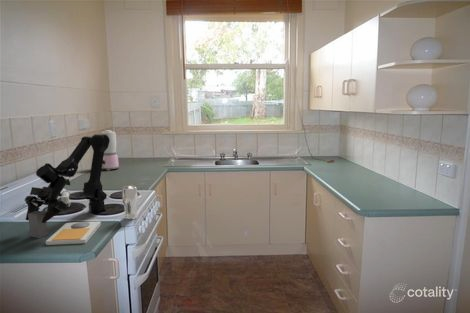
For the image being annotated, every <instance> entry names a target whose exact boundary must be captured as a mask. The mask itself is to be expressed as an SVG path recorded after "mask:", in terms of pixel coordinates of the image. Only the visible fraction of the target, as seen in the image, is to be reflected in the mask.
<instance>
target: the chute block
mask: <svg viewBox="0 0 470 313" xmlns="http://www.w3.org/2000/svg"><path fill="white" fill-rule="evenodd" d="M45 214H46V211H43V210H38V211H34V212H31V213H28V219H29V220H28V225H29V233H30V237H32V238H37V239H41V238H43V237H45V236H48V235H49V233H48V232H49V231H48V221H46V222H45V223H42V220H43V218H44V216H45Z"/></svg>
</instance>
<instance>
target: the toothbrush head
mask: <svg viewBox="0 0 470 313" xmlns="http://www.w3.org/2000/svg"><path fill="white" fill-rule="evenodd" d="M61 194H62V195H61V199H60V200H61V201H63V202H64V203H65V204H67V207H68V208H70V205H71V203H72V200H70V196H71V194H70V191H68V190H64V191H63V190H62V191H61ZM71 206H72V205H71Z"/></svg>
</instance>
